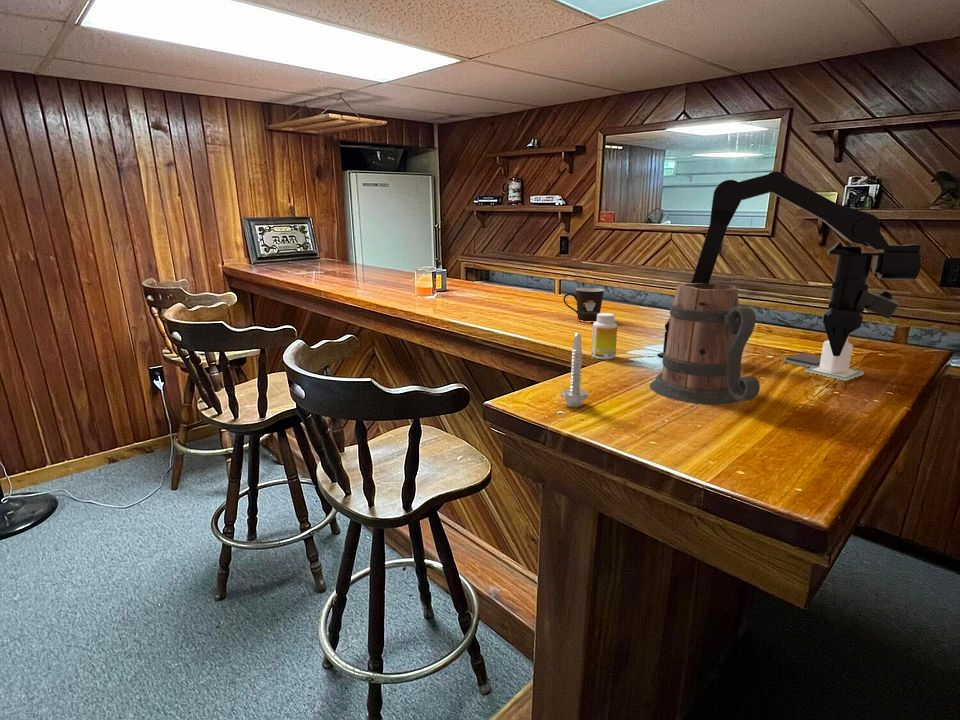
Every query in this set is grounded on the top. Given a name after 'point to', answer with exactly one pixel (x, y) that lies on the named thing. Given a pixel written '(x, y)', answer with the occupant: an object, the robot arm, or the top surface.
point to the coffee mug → (587, 303)
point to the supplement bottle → (604, 336)
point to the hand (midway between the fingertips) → (837, 352)
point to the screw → (575, 377)
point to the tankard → (706, 347)
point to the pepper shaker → (836, 358)
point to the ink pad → (804, 360)
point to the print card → (841, 376)
